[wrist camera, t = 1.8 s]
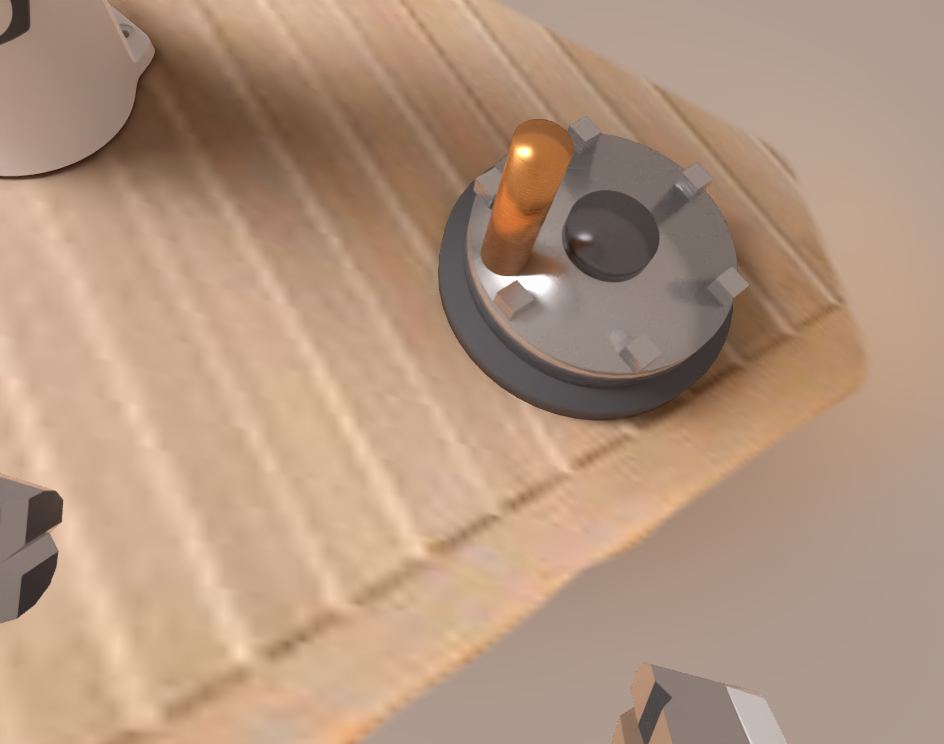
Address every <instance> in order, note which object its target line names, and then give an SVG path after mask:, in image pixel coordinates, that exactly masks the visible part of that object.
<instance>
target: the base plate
mask: <svg viewBox="0 0 944 744" xmlns="http://www.w3.org/2000/svg"><path fill="white" fill-rule="evenodd" d="M493 168H494V166H493V167H492V168H490V169H489V170H491V169H493ZM489 170H487V171H486V172H488V171H489ZM486 172H484V173H486ZM484 173H483V174H484ZM480 176H481V175H480ZM474 185H475V181H474V182H472V183H471V184H470V186H469V187H468V188H467V189H466V190H465V191H464V193H463V194H462V195H461V196H460V198H459V200H458V201H457V203H456V204H455V206H454V208H453V209H452V212H451V214H450V216H449V219H448V221H447V224H446V227H445V231H444V235H443V239H442V244H441V250H440V255H439V268H438V278H439V291H440V295H441V300H442V304H443V308H444V311H445V314H446V316H447V319H448V322H449V324H450V326H451V328H452V330H453V332H454V334H455V336H456V338H457V339H458V341H459V343H460V344H461V346H462V347H463V348H464V350H465V351H466V353H467V354H468V355H469V357H470V358H471V359H472V360H473V361H474V362H475V364H476V365H477V366H478V367H479V368H480V369H481V370H482V371H483V372H484V373H485V374H486V375H487V376H488V377H490V378H491V379H492V380H493V381H494V382H496V383H497V384H498V385H499V386H500V387H502V388H503V389H505V390H507V391H508V392H510V393H511V394H513V395H514V396H516V397H517V398H519V399H521V400H523V401H525V402H527V403H529V404H531V405H533V406H535V407H538V408H541V409H544V410H546V411H549V412H552V413H555V414H559V415H564V416H568V417H573V418H580V419H590V420H608V419H619V418H625V417H631V416H635V415H639V414H642V413H645V412H648V411H651V410H653V409H655V408H657V407H659V406H661V405H663V404H665V403H667V402H669V401H670V400H672V399H673V398H675V397H676V396H677V395H679V394H680V393H682V392H683V391H684V390H686V389H687V388H688V387H690V386H691V385H692V384H694V383H695V382H696V381H697V380H698V379H699V378H700V377H701V376H702V375H703V374H704V373H705V372H706V371H707V370H708V369H709V367H710V366H711V365H712V363H713V362H714V361H715V359H716V358H717V356H718V354H719V352H720V350H721V348H722V347H723V345H724V343H725V340H726V337H727V334H728V331H729V328H730V323H731V317H732V311H733V302H732V305H731V308H730V311H729V313H728V315H727V316H726V318H725V320H724V322H723V324H722V325H721V326H720V328H719V329H718V330H717V332H716V333H715V334H714V335H713V336H712V337H711V338H710V339H709V340H708V341H707V342H706V343H705V344H704V345H703V346H702V347H701V348H699V349H698V350H697V351H696V352H695V353H693V354H692V355H691V356H690V357H689V358H688V359H686V360H685V361H684V362H683V363H682V364H680V365H679V366H677V367H676V368H675V369H673V370H672V371H670V372H669V373H667V374H665V375H663V376H661V377H658V378H656V379H654V380H651V381H648V382H645V383H642V384H638V385H633V386H627V387H615V388H601V387H591V386H584V385H579V384H575V383H570V382H567V381H564V380H561V379H558V378H556V377H553V376H550V375H548V374H546V373H544V372H542V371H540V370H538V369H536V368H534V367H533V366H531V365H530V364H528V363H527V362H525V361H523V360H522V359H520V358H519V357H518V356H517V355H515V354H514V353H513V352H512V351H511V350H509V349H508V348H507V347H506V346H505V345H504V344H503V343H502V342H501V341H500V340H499V339H498V338H497V337H496V336H495V335H494V334H493V333H492V331H491V330H490V328H489V327H488V326H487V324H486V323H485V322H484V320H483V319H482V317H481V315H480V314H479V312H478V310H477V308H476V306H475V304H474V302H473V300H472V297H471V294H470V292H469V289H468V286H467V281H466V277H465V272H464V261H463V254H464V242H465V237H466V232H467V228H468V224H469V220H470V215H471V211H472V207H473V203H474V200H475V197H476V195H477V194H476V193H475V191H474V190H473V189H474Z"/></svg>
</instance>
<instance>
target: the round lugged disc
mask: <svg viewBox="0 0 944 744" xmlns="http://www.w3.org/2000/svg"><path fill="white" fill-rule="evenodd" d="M601 133H602V131H601V130H600V129H599V128H598V127H597V126H596V125H595V124H594V123H593V122H592V121H591V120H590V119H589V118H588V117H587V116H586V117H584V118H582V119H580V120H579V121H577V122H575V123H573V124H572V125H570V126H569V129H568V131H566V130H565V129H564V128H562V127H561V126H560V125H558V124H556V123H554V122H552V121H549V120H544V119H533V120H528V121H526V122H524V123H522V124H521V125H519V126H518V128H517V129H516V130H515V132H514V135H513V139H512V142H511V146H510V149H509V153H508V155H506V156H505V157H504V158H503V159H502V160H501V161H499V162H498V163H497V164H496V165H495V166H494V168H493V169H491V170H489V171H488V172H486V173H484V174H482V175H481V176H479V177H477V178H476V180H475V185H474V189H473V190H474V191H475V193H476V194H477V195H476V197H475V200H474V203H473V207H472V211H471V215H470V220H469V224H468V228H467V232H466V237H465V242H464V254H463V261H464V272H465V277H466V281H467V286H468V289H469V292H470V294H471V297H472V300H473V302H474V304H475V306H476V308H477V310H478V312H479V314H480V315H481V317H482V319H483V320H484V322H485V323H486V324H487V326H488V327H489V328H490V330H491V331H492V333H493V334H494V335H495V336H496V337H497V338H498V339H499V340H500V341H501V342H502V343H503V344H504V345H505V346H506V347H507V348H508V349H509V350H511V351H512V352H513V353H514V354H515V355H517V356H518V357H519V358H520V359H522V360H523V361H525V362H527V363H528V364H530V365H531V366H533V367H534V368H536V369H538V370H540V371H542V372H544V373H546V374H548V375H550V376H553V377H556V378H558V379H561V380H564V381H567V382H570V383H575V384H579V385H584V386H591V387H601V388H615V387H627V386H633V385H638V384H642V383H645V382H648V381H651V380H654V379H656V378H658V377H661V376H663V375H665V374H667V373H669V372H670V371H672V370H673V369H675V368H676V367H677V366H679V365H680V364H682V363H683V362H684V361H685V360H686V359H688V358H689V357H690V356H691V355H692V354H693V353H695V352H696V351H697V350H698V349H699V348H701V347H702V346H703V345H704V344H705V343H706V342H707V341H708V340H709V339H710V338H711V337H712V336H713V335H714V334H715V333H716V332H717V330H718V329H719V328H720V326H721V325H722V324H723V322H724V320H725V318H726V316H727V315H728V313H729V311H730V308H731V305H732V302H733V299H734V298H735V297H737V296H738V295H739V294H740V293H741V292H743V291H744V290H745V289H746V288H747V287H748V286H749V285H750V284H749V283H748V282H747V281H746V280H745V279H744V278H743V277H742V276H741V275H740V274H739V273H738V272H737V258H736V251H735V247H734V243H733V240H732V236H731V233H730V231H729V229H728V226H727V224H726V221H725V219H724V218H723V216H722V214H721V212H720V210H719V209H718V207H717V206H716V204H715V203H714V201H713V200H712V199H711V197H710V196H709V194H708V193H707V192H706V191H705V189H706V188H707V187H708V185H709V184H710V183H711V182H712V180H713V179H714V178H713V177H712V176H711V175H710V174H709V173H708V172H707V171H706V170H705V169H704V168H703V167H702V166H701V165H700V164H699V163H698V162H697V163H696V164H694V165H692V166H691V167H689V168H688V169H686V170H684V169H682V168H681V167H680V166H678V165H677V164H676V163H674V162H673V161H672V160H670V159H668V158H667V157H665V156H663V155H662V154H660V153H658V152H656V151H654V150H652V149H650V148H648V147H646V146H644V145H642V144H639V143H636V142H633V141H630V140H628V139H624V138H620V137H616V136H612V135H607V134H601Z"/></svg>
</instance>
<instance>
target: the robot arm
mask: <svg viewBox="0 0 944 744" xmlns="http://www.w3.org/2000/svg"><path fill="white" fill-rule="evenodd" d="M154 54H155V49H154V47H153V45H152V43H151V41H150V39H149V37H148V36H147V35H146V34H145V33H144V32H143V31H142V30H140V29H139V28H138V27H137V26H136V25H134V24H133V23H132V22H131V21H129V20H128V19H127V18H126V17H125V16H123V15H122V14H121V13H120V12H119V11H117V10H116V9H115V8H114V7H113V6H111V5H110V4H109V3H108V1H107V0H0V176H23V175H32V174H38V173H44V172H48V171H52V170H56V169H59V168H62V167H65V166H68V165H70V164H73V163H75V162H77V161H79V160H82V159H84V158H85V157H87V156H89V155H91V154H92V153H94V152H96V151H97V150H98V149H100V148H101V147H103V146H104V145H105V144H106V143H108V142H109V141H110V140H111V139H112V138H113V137H114V136H115V135H116V134H117V133H118V132H119V130H120V129H121V128H122V126H123V125H124V124H125V122H126V120H127V119H128V117H129V115H130V112H131V110H132V107H133V104H134V100H135V94H136V86H137V82H138V79H139V76H140V75H141V74H142V73H143V72H144V70H145V69H146V68H147V66H148V65H149V64H150V62H151V61H152V59H153V57H154ZM62 511H63V499H62V498H61V496H60V495H59V494H58V493H57V491H55V490H52V489H49V488H46V487H42V486H39V485H36V484H33V483H30V482H26V481H23V480H20V479H17V478H14V477H10V476H7V475H4V474H1V473H0V623H3V622H7V621H10V620H14V619H17V618H19V617H20V616H21V615H22V614H24V613H25V612H26V611H28V610H29V609H30V608H31V607H33V606H34V605H35V604H36V603H37V601H38V600H39V599H40V597H41V596H42V595H43V593H44V592H45V590H46V589H47V588H48V586H49V585H50V583H51V580H52V577H53V575H54V572H55V569H56V566H57V558H58V549H57V547H56V545H55V543H54V541H53V539H52V537H51V535H50V532H51V531H52V530H54V529H55V528H56V527H57V526H58V525H59V524H60V523H61V522H62ZM631 693H632V698H633V703H634V707H633V708H632V709H630V710H628V711H627V712H625V713H624V714H622V715H621V716H620V718H619V721H618V724H617V727H616V729H615V733H614V735H613V740H612V744H787V742H786V740H785V738H784V736H783V734H782V732H781V730H780V728H779V726H778V724H777V722H776V720H775V718H774V716H773V714H772V712H771V710H770V708H769V706H768V704H767V702H766V700H765V699H764V697H763V696H761V695H760V694H759V693H758V692H756V691H753V690H749V689H745V688H741V687H737V686H733V685H729V684H725V683H721V682H715V681H712V680H708V679H704V678H700V677H697V676H693V675H689V674H685V673H681V672H678V671H674V670H670V669H667V668H662V667H659V666H655V665H652V664H647V663H642V665H641V666H640V668H639V669H638V671H637V672H636V675H635V678H634V680H633V683H632V685H631Z"/></svg>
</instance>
